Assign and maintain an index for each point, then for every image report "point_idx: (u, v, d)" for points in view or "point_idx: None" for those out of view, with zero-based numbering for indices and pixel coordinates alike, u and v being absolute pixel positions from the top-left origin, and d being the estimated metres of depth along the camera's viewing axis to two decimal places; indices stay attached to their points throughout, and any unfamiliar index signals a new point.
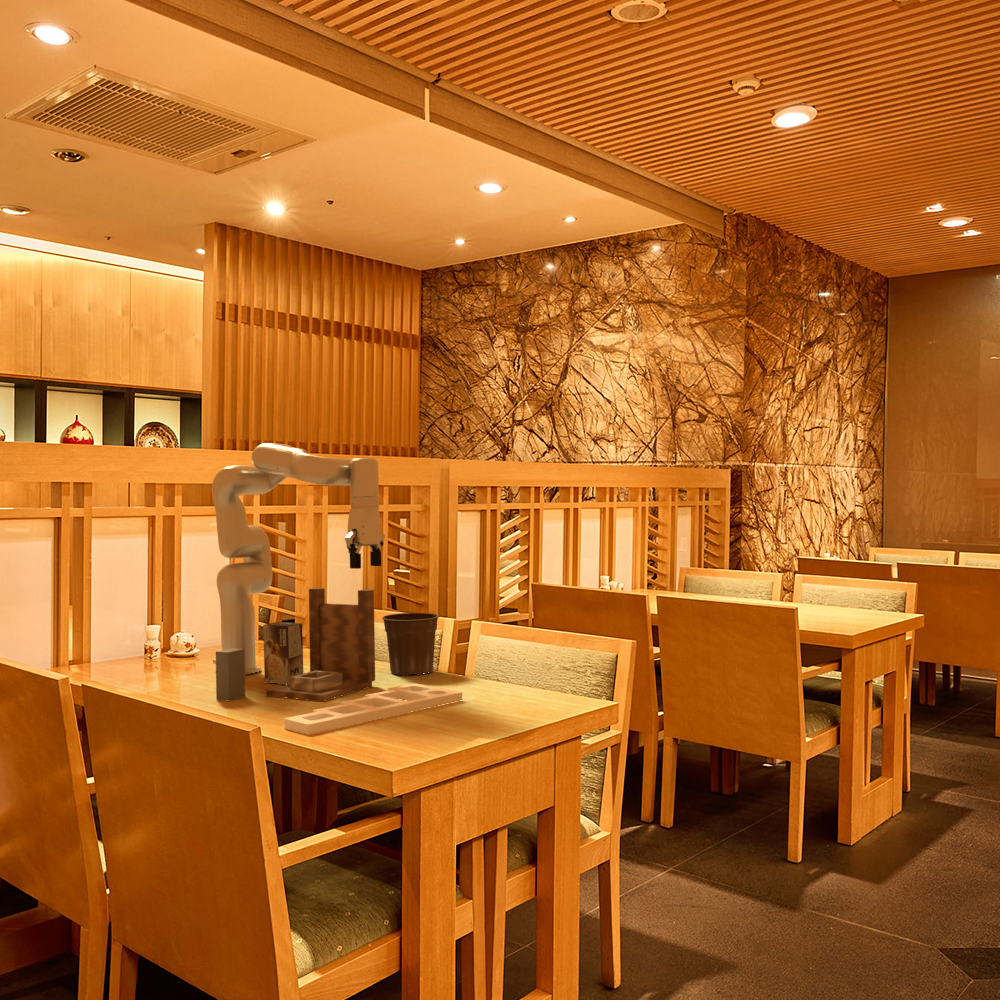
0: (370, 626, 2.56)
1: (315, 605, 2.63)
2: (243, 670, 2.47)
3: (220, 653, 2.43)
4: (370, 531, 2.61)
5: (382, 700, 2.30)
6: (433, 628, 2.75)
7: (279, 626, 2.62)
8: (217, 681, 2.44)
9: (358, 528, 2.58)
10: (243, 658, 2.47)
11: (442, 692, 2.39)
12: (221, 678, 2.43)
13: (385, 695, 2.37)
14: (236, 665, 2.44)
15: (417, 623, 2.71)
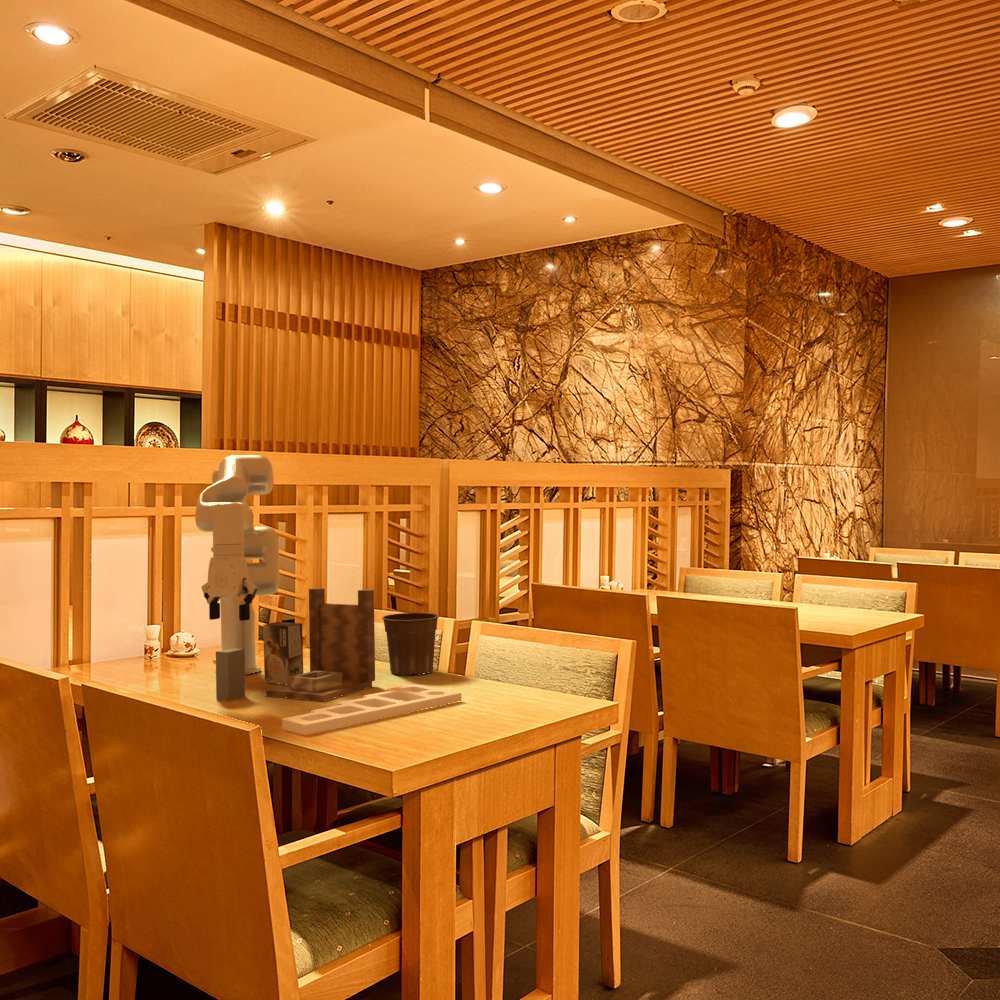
0: (370, 626, 2.56)
1: (315, 605, 2.63)
2: (243, 670, 2.47)
3: (220, 653, 2.43)
4: None
5: (381, 701, 2.29)
6: (433, 628, 2.75)
7: (279, 626, 2.62)
8: (217, 681, 2.44)
9: (247, 577, 2.44)
10: (243, 658, 2.47)
11: (441, 693, 2.38)
12: (221, 678, 2.43)
13: (384, 696, 2.36)
14: (236, 665, 2.44)
15: (417, 623, 2.71)
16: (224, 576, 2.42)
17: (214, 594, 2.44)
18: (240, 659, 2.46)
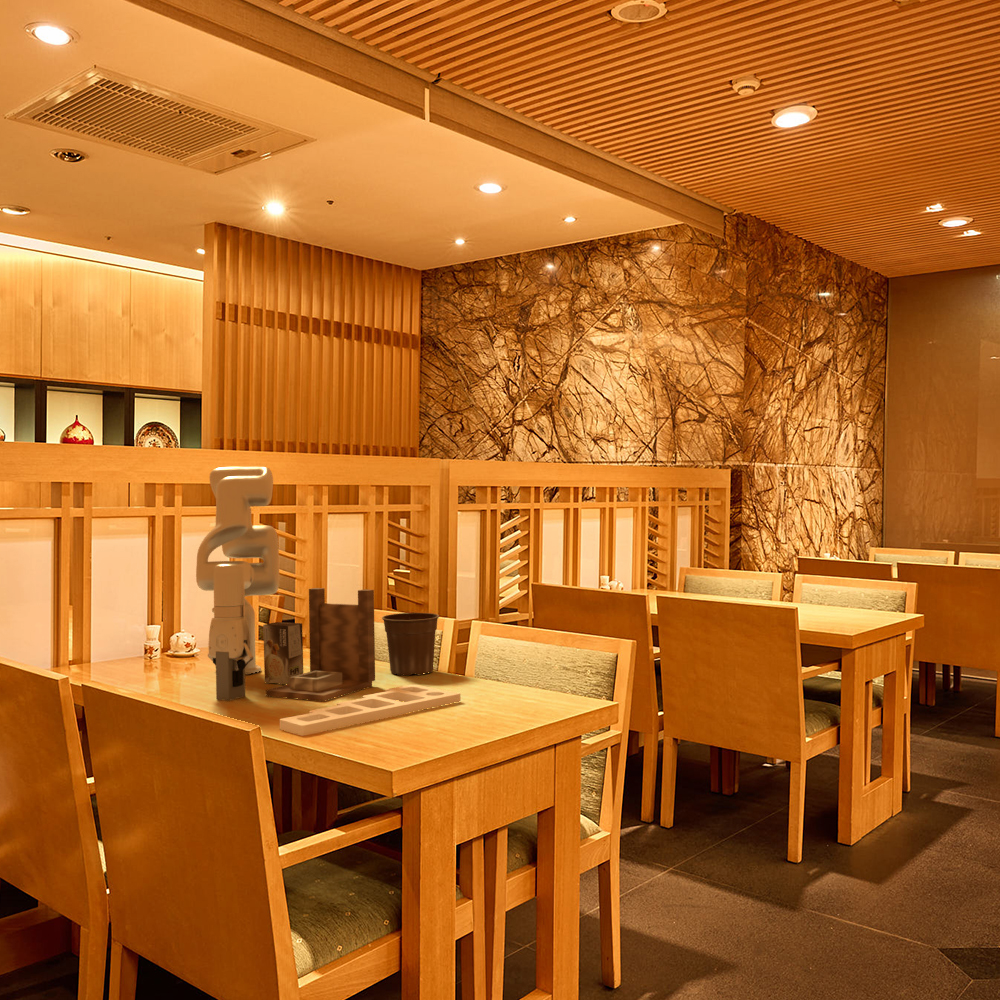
0: (370, 626, 2.56)
1: (315, 605, 2.63)
2: (243, 670, 2.47)
3: (220, 653, 2.43)
4: None
5: (379, 701, 2.29)
6: (433, 628, 2.75)
7: (279, 626, 2.62)
8: (217, 681, 2.44)
9: (248, 638, 2.44)
10: None
11: (440, 693, 2.37)
12: (221, 678, 2.43)
13: (383, 696, 2.36)
14: None
15: (417, 623, 2.71)
16: (225, 638, 2.42)
17: (215, 655, 2.44)
18: None
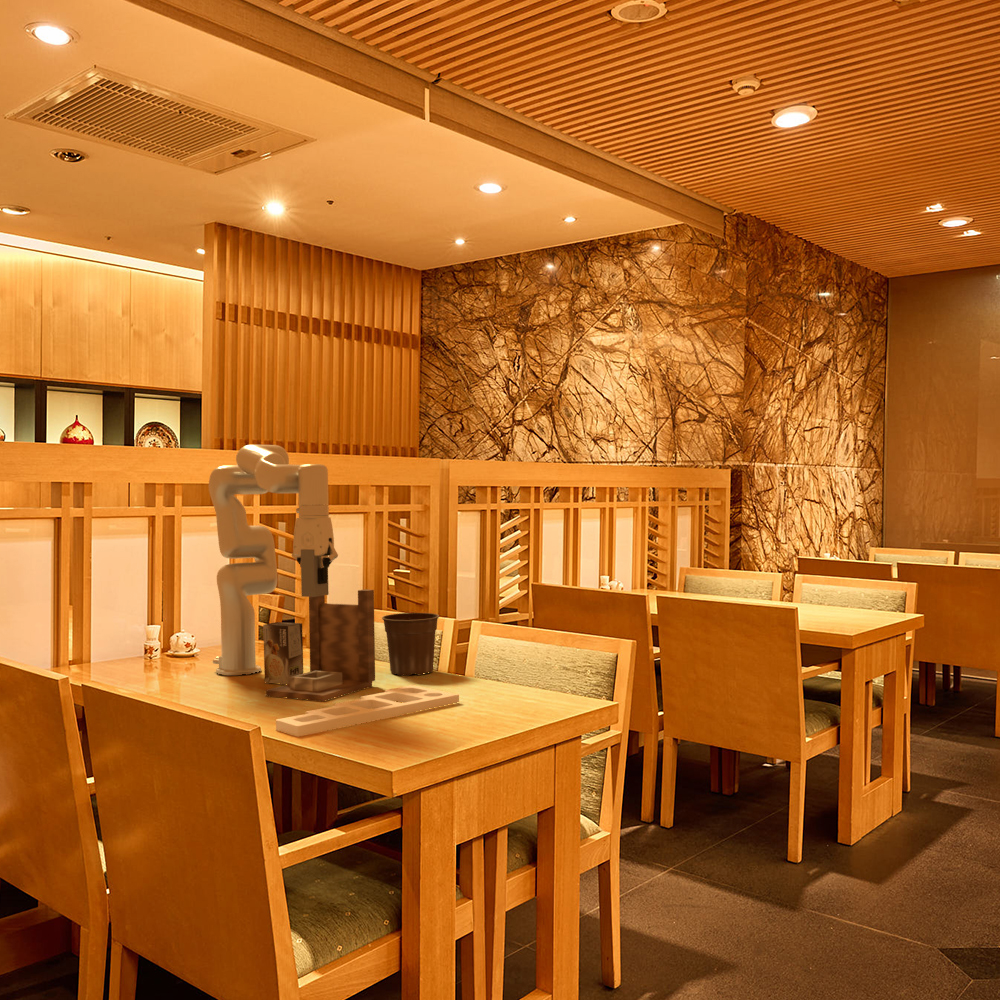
0: (370, 626, 2.56)
1: (315, 605, 2.63)
2: None
3: (305, 551, 2.48)
4: None
5: (377, 702, 2.28)
6: (433, 628, 2.75)
7: (279, 626, 2.62)
8: (302, 579, 2.49)
9: (332, 537, 2.50)
10: None
11: (439, 694, 2.36)
12: (306, 575, 2.48)
13: (381, 697, 2.35)
14: None
15: (417, 623, 2.71)
16: (310, 536, 2.48)
17: (300, 554, 2.49)
18: None
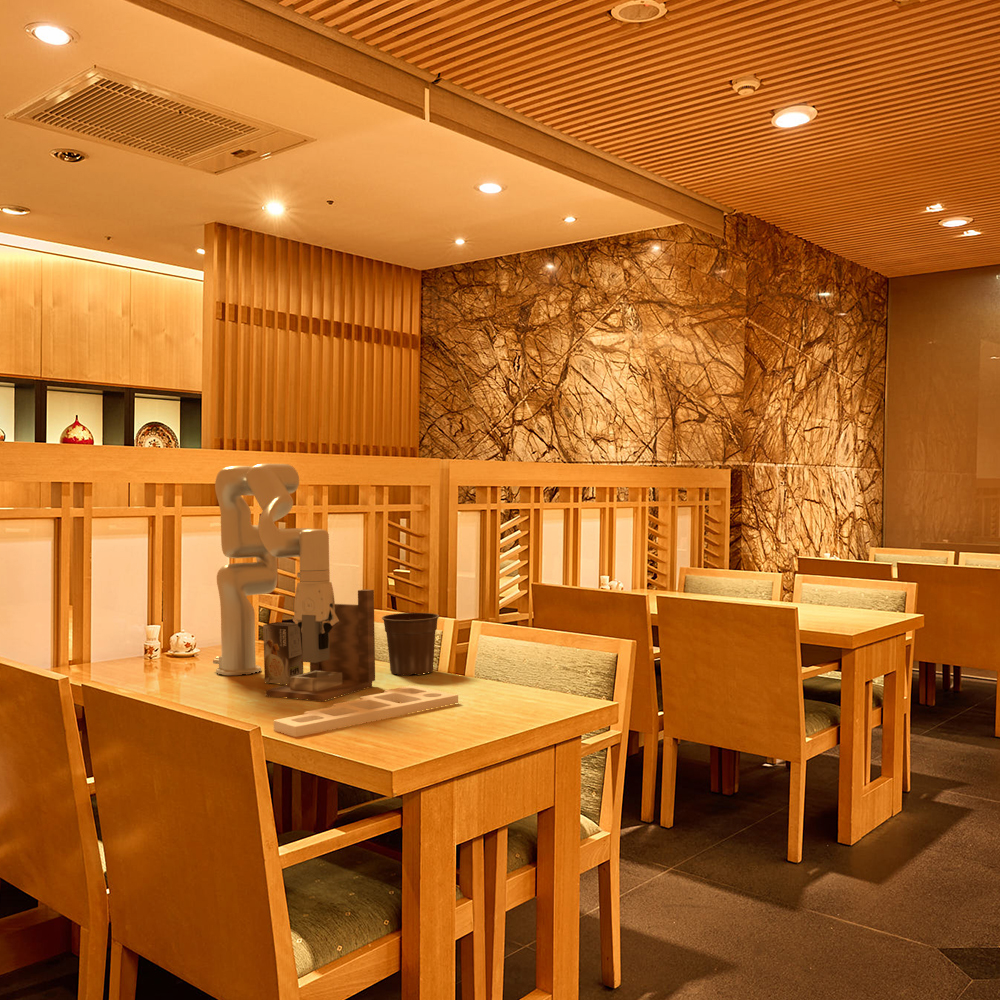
0: (370, 626, 2.56)
1: None
2: None
3: (306, 616, 2.48)
4: None
5: (376, 702, 2.28)
6: (433, 628, 2.75)
7: (279, 626, 2.62)
8: (303, 644, 2.49)
9: (333, 602, 2.50)
10: None
11: (438, 695, 2.36)
12: (307, 641, 2.48)
13: (380, 697, 2.35)
14: None
15: (417, 623, 2.71)
16: (311, 601, 2.48)
17: (301, 619, 2.49)
18: None
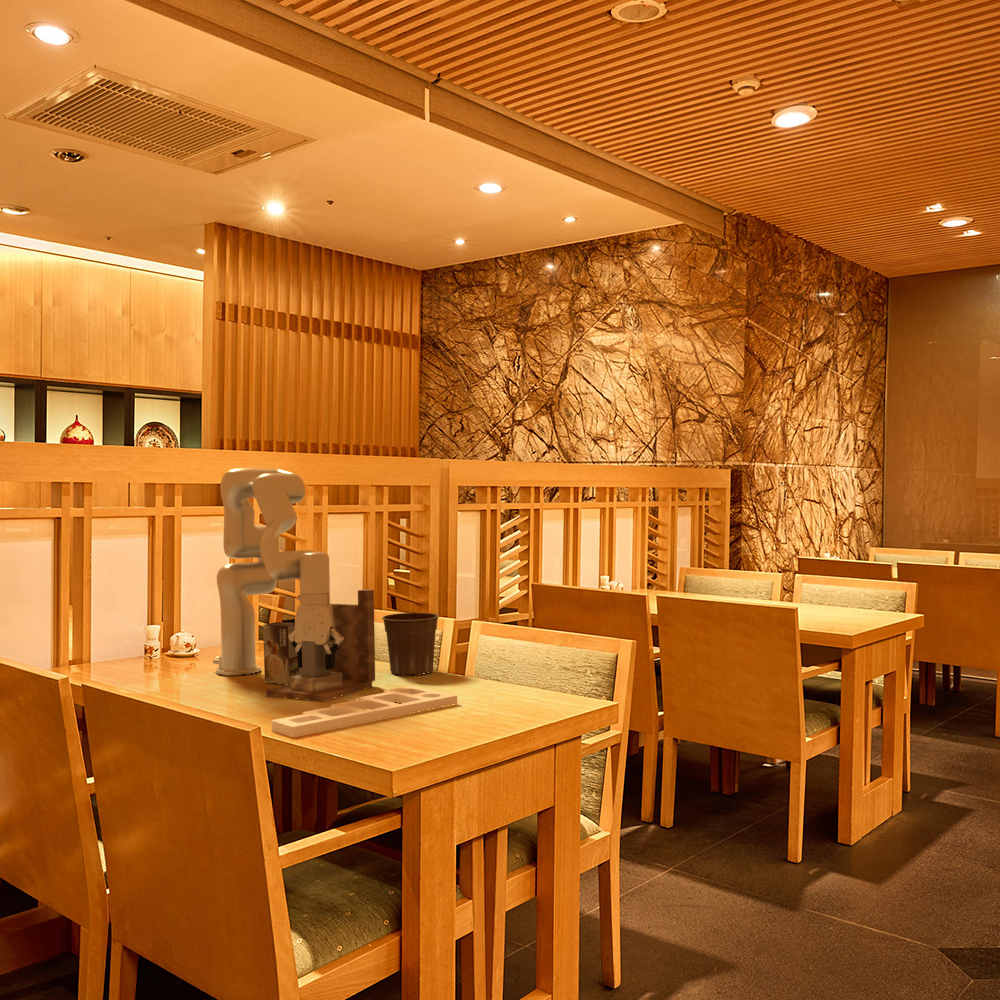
0: (370, 626, 2.56)
1: None
2: None
3: (306, 642, 2.48)
4: None
5: (375, 703, 2.27)
6: (433, 628, 2.75)
7: (279, 626, 2.62)
8: (303, 670, 2.49)
9: (334, 625, 2.50)
10: None
11: (437, 695, 2.35)
12: (307, 667, 2.48)
13: (379, 697, 2.34)
14: (321, 654, 2.50)
15: (417, 623, 2.71)
16: (312, 625, 2.48)
17: (301, 642, 2.49)
18: None
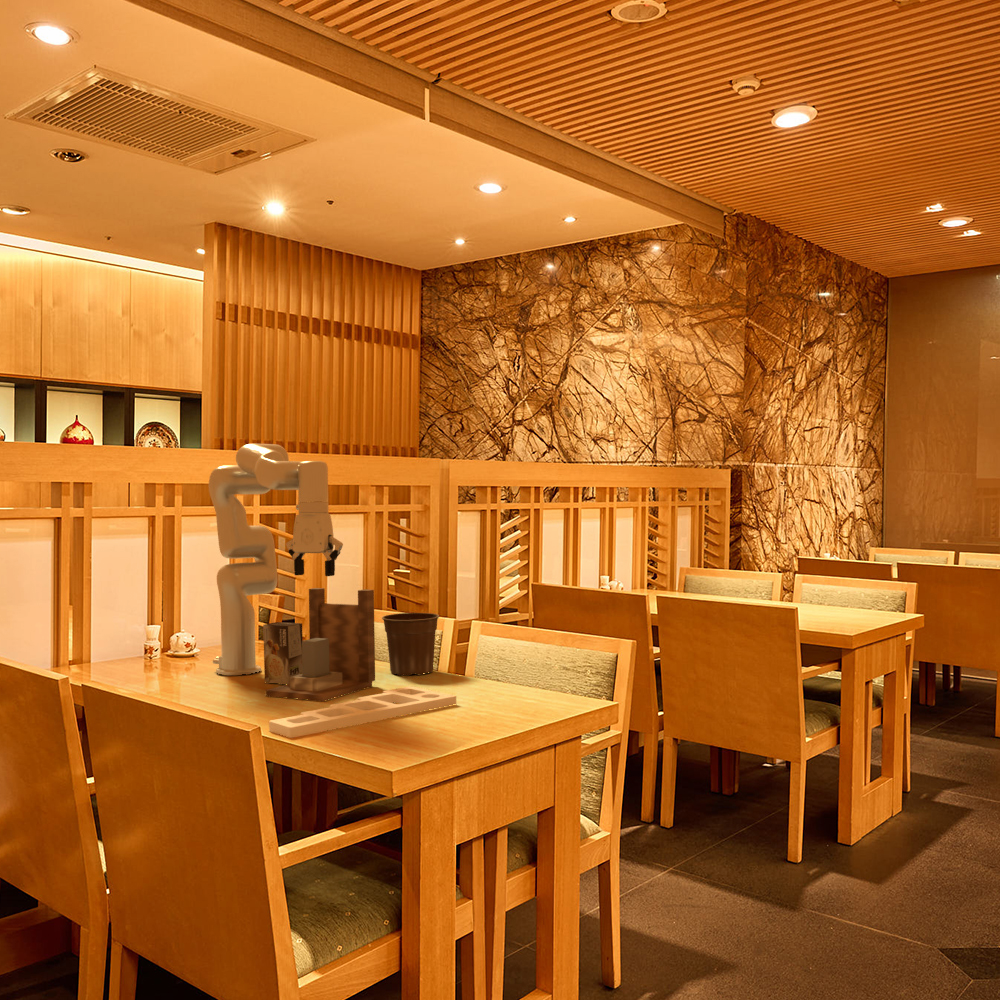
0: (370, 626, 2.56)
1: (315, 605, 2.63)
2: (328, 659, 2.52)
3: (306, 642, 2.48)
4: None
5: (373, 703, 2.27)
6: (433, 628, 2.75)
7: (279, 626, 2.62)
8: (303, 670, 2.49)
9: (332, 534, 2.50)
10: (328, 647, 2.52)
11: (436, 696, 2.34)
12: (307, 667, 2.48)
13: (378, 698, 2.34)
14: (321, 654, 2.50)
15: (417, 623, 2.71)
16: (310, 533, 2.48)
17: (300, 550, 2.49)
18: (325, 648, 2.51)
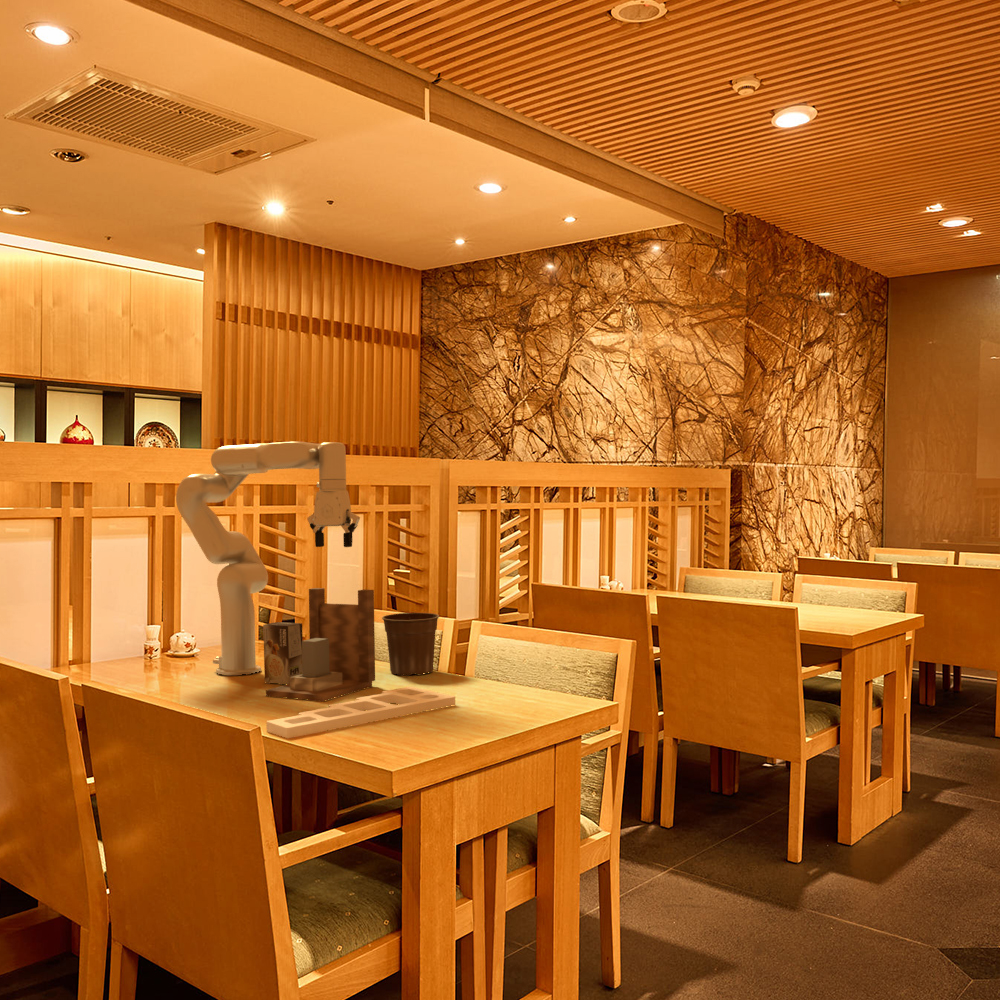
0: (370, 626, 2.56)
1: (315, 605, 2.63)
2: (328, 659, 2.52)
3: (306, 642, 2.48)
4: None
5: (372, 704, 2.26)
6: (433, 628, 2.75)
7: (279, 626, 2.62)
8: (303, 670, 2.49)
9: (350, 509, 2.74)
10: (328, 647, 2.52)
11: (435, 696, 2.34)
12: (307, 667, 2.48)
13: (377, 698, 2.33)
14: (321, 654, 2.50)
15: (417, 623, 2.71)
16: (330, 507, 2.72)
17: (320, 524, 2.74)
18: (325, 648, 2.51)
